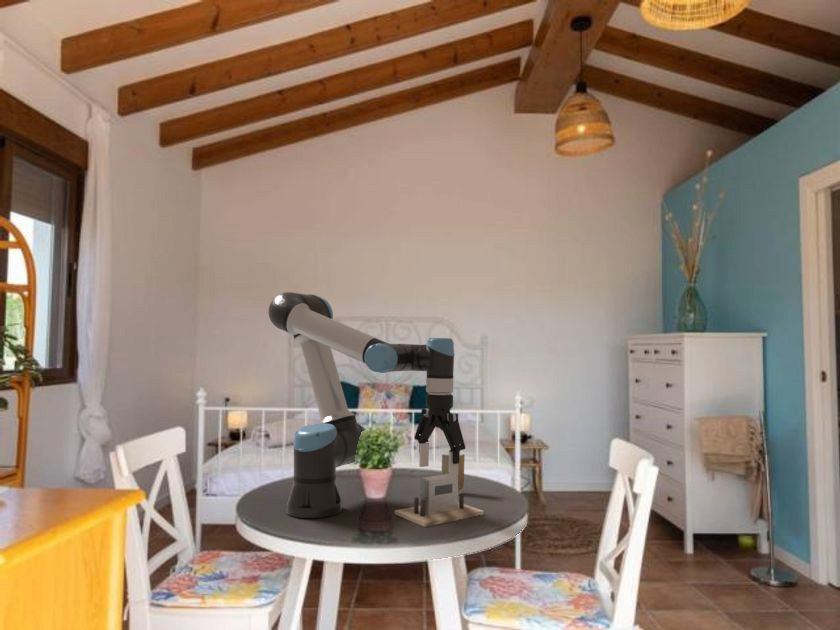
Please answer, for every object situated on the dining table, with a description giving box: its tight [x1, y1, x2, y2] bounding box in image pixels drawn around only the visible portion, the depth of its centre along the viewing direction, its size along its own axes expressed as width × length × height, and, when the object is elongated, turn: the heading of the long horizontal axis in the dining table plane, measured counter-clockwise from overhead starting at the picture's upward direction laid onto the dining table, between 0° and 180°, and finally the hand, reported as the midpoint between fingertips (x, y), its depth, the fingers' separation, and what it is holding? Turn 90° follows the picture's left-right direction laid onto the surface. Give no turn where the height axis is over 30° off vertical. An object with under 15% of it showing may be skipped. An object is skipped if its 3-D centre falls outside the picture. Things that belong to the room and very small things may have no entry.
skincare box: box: [440, 451, 466, 496], centre depth 187 cm, size 6×4×12 cm
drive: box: [419, 474, 459, 515], centre depth 163 cm, size 10×4×9 cm, turn 125°
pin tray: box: [394, 493, 485, 528], centre depth 163 cm, size 20×14×5 cm
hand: (438, 471), depth 164 cm, fingers open, 13 cm apart
